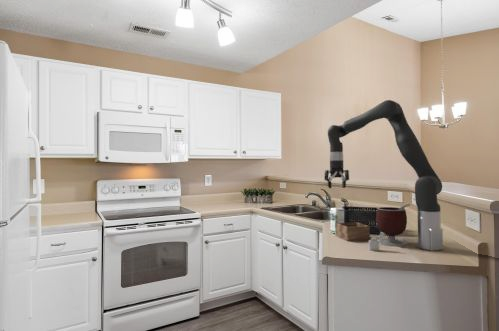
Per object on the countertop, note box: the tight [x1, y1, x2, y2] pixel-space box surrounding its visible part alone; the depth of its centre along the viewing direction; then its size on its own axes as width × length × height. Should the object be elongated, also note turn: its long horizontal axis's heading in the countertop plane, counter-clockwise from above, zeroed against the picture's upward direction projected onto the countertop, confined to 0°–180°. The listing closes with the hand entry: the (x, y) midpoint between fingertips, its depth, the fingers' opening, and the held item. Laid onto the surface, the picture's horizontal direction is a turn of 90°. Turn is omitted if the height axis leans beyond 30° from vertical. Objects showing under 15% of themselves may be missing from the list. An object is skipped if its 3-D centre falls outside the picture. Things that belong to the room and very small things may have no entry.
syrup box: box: [329, 207, 344, 235], centre depth 179 cm, size 6×6×14 cm
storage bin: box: [342, 206, 387, 236], centre depth 186 cm, size 29×19×13 cm
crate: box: [335, 222, 371, 242], centre depth 166 cm, size 13×13×7 cm
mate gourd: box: [376, 203, 411, 247], centre depth 153 cm, size 16×14×20 cm
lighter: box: [368, 232, 386, 251], centre depth 141 cm, size 7×2×8 cm, turn 92°
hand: (336, 188), depth 179 cm, fingers open, 8 cm apart
